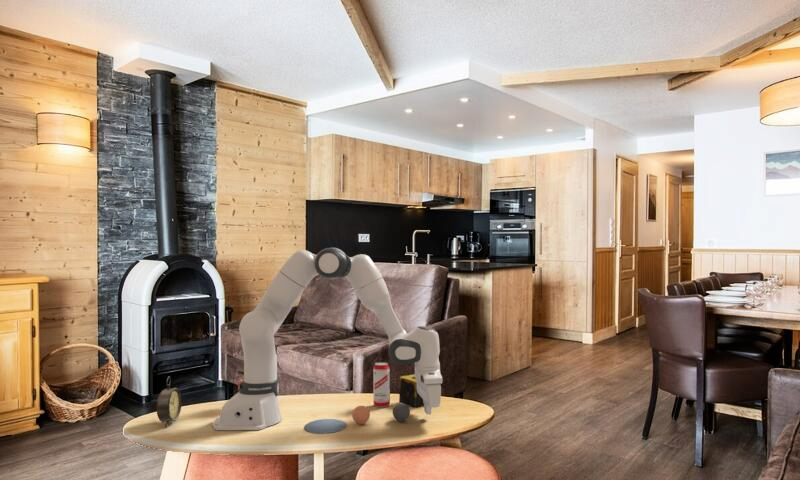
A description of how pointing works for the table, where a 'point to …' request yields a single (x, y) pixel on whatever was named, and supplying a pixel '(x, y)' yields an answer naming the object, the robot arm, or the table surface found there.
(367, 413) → the terracotta egg
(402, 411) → the gray ball
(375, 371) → the beer can
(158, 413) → the alarm clock
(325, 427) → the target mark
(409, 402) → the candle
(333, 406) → the table surface
